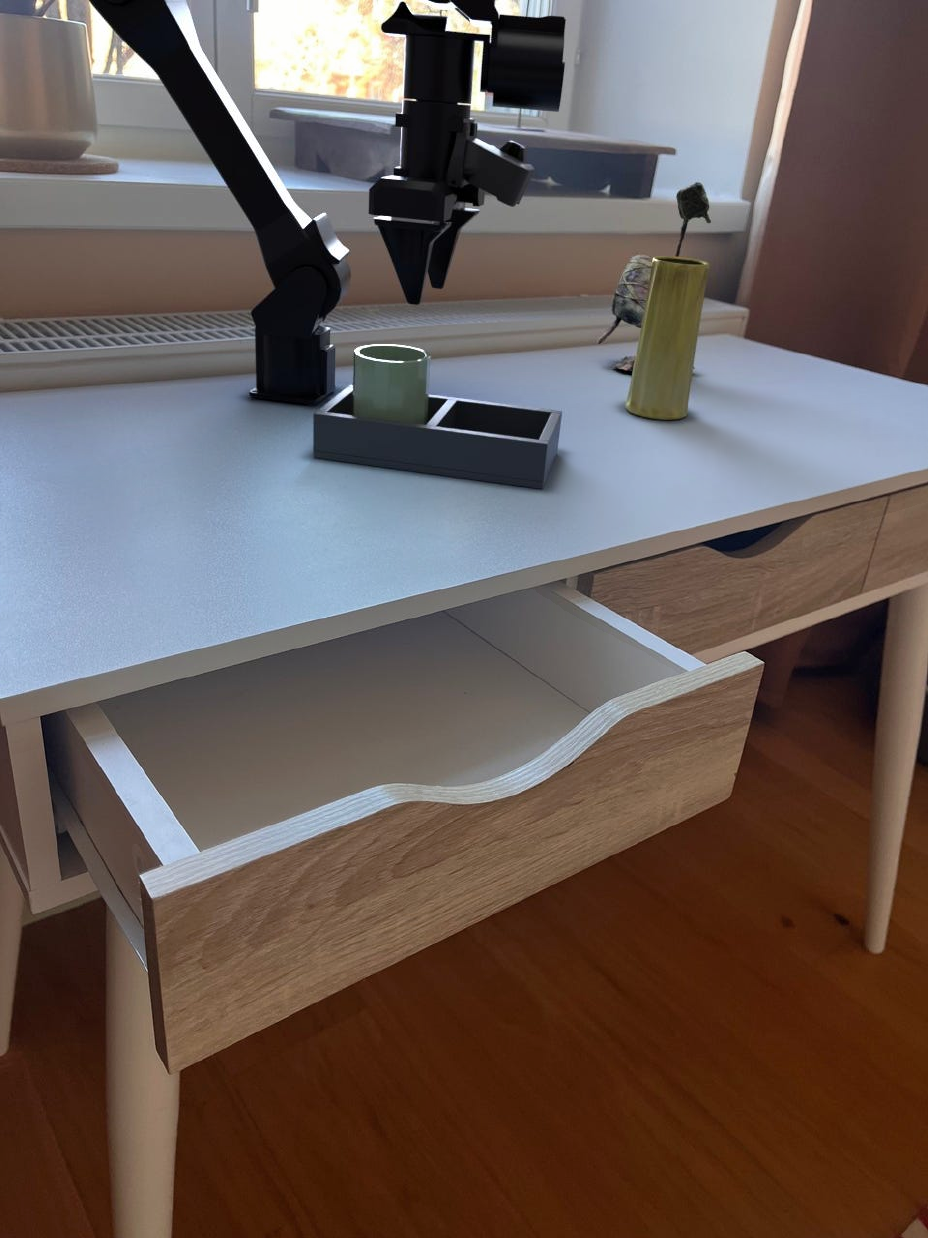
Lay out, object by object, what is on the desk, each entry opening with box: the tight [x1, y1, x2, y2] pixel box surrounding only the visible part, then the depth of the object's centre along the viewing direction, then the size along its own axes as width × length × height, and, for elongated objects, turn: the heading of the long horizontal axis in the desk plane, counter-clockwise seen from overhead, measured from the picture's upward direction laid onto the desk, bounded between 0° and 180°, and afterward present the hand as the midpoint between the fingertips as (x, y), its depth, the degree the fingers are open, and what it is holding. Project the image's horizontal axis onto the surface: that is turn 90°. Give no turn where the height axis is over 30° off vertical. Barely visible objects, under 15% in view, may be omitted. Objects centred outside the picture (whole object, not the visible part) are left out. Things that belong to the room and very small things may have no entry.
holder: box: [312, 384, 563, 490], centre depth 81 cm, size 10×18×4 cm, turn 78°
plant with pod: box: [596, 181, 712, 372], centre depth 110 cm, size 8×11×20 cm
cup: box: [352, 343, 432, 425], centre depth 81 cm, size 6×6×7 cm
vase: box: [624, 255, 710, 421], centre depth 96 cm, size 6×6×14 cm
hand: (426, 295), depth 90 cm, fingers open, 9 cm apart
